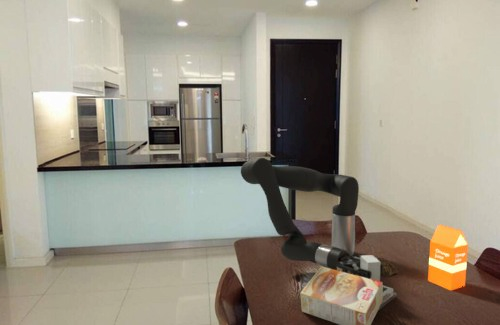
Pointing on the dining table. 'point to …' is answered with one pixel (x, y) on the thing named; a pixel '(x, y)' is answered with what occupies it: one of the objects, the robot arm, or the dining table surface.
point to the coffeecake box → (342, 297)
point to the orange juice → (448, 258)
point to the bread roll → (387, 268)
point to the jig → (387, 296)
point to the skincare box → (371, 266)
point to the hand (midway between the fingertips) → (377, 271)
